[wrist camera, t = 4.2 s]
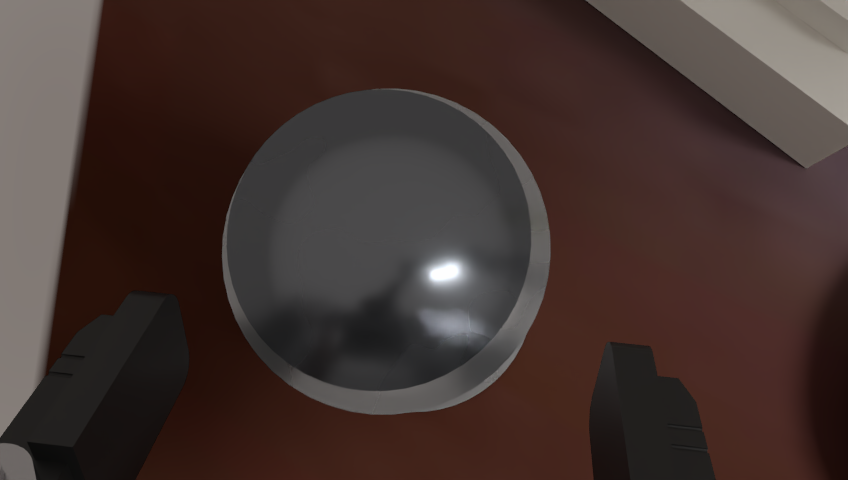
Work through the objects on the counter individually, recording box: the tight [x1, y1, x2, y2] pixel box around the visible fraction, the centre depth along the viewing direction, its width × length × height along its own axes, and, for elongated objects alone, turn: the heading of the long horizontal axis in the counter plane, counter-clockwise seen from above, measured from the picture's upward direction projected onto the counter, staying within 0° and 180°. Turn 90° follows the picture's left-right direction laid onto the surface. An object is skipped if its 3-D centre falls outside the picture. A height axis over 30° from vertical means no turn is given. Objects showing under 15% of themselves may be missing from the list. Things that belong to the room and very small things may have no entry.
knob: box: [222, 89, 551, 414], centre depth 16 cm, size 6×6×10 cm
